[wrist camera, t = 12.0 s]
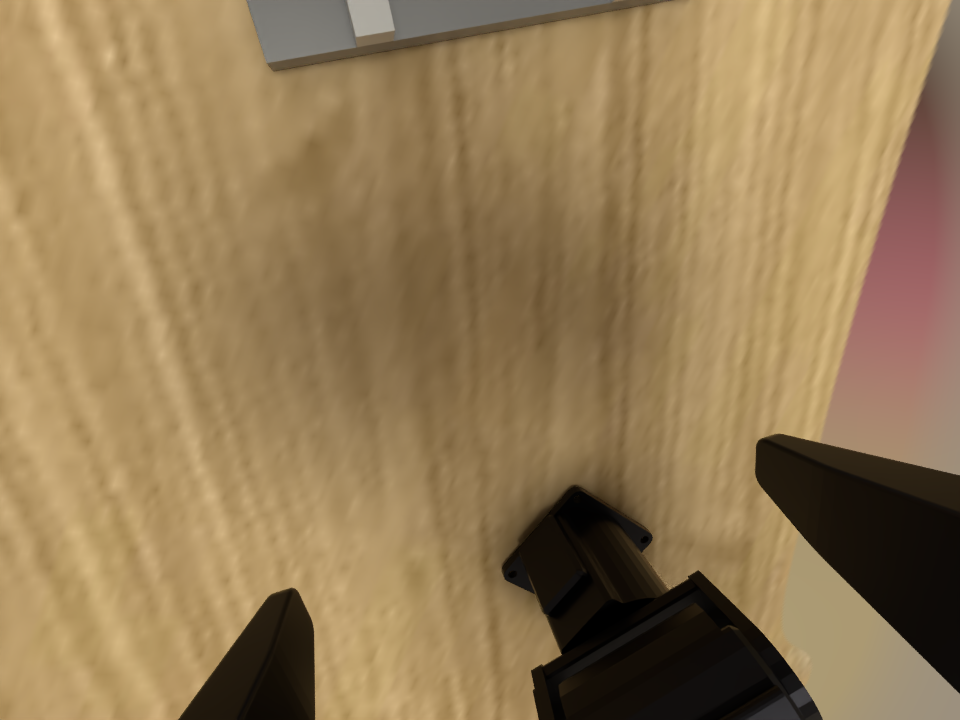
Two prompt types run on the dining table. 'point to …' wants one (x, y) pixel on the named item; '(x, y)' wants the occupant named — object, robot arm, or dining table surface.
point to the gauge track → (396, 23)
